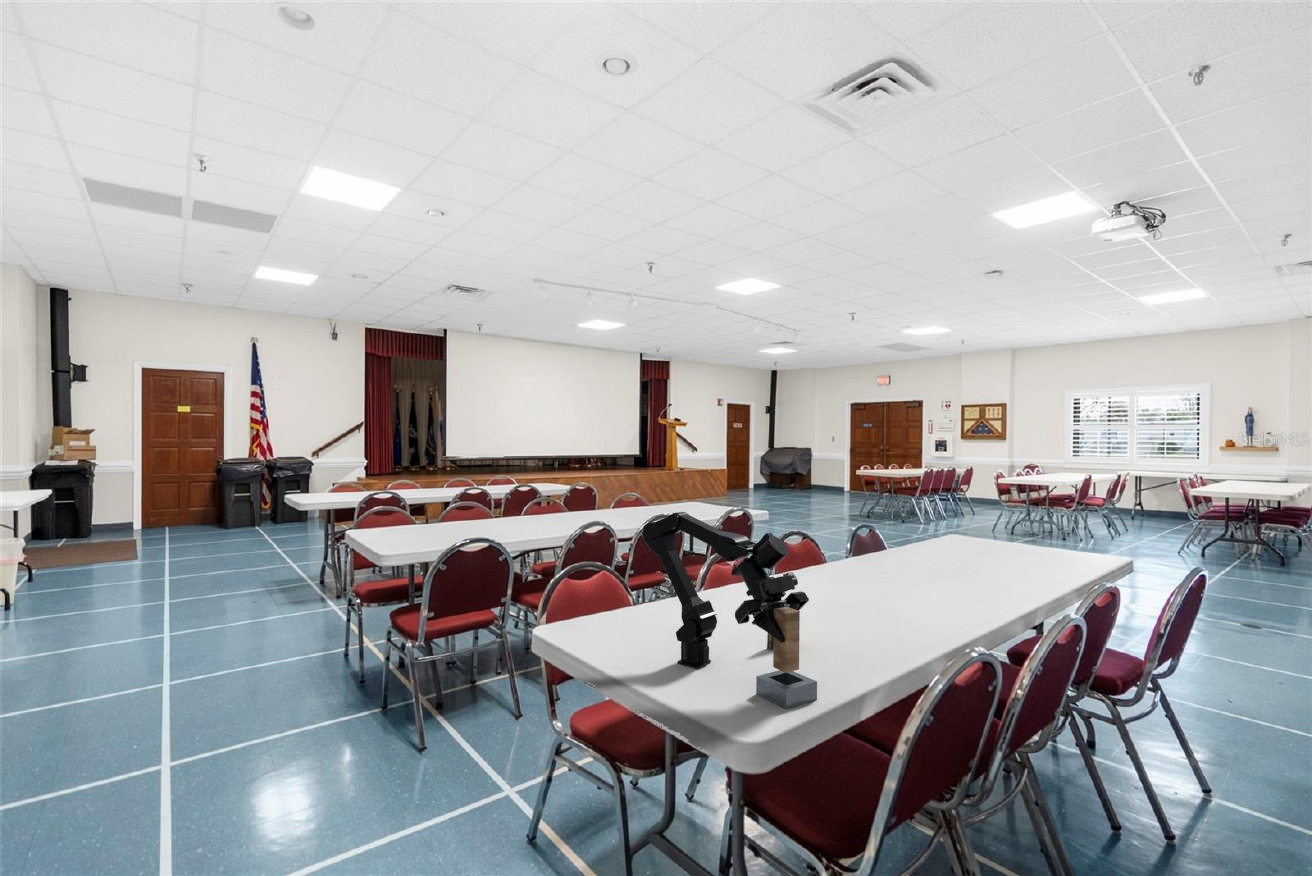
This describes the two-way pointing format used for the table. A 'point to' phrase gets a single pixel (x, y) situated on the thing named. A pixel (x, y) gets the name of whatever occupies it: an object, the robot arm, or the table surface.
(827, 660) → the table surface
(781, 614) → the walnut peg
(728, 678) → the table surface
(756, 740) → the table surface
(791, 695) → the square collar
